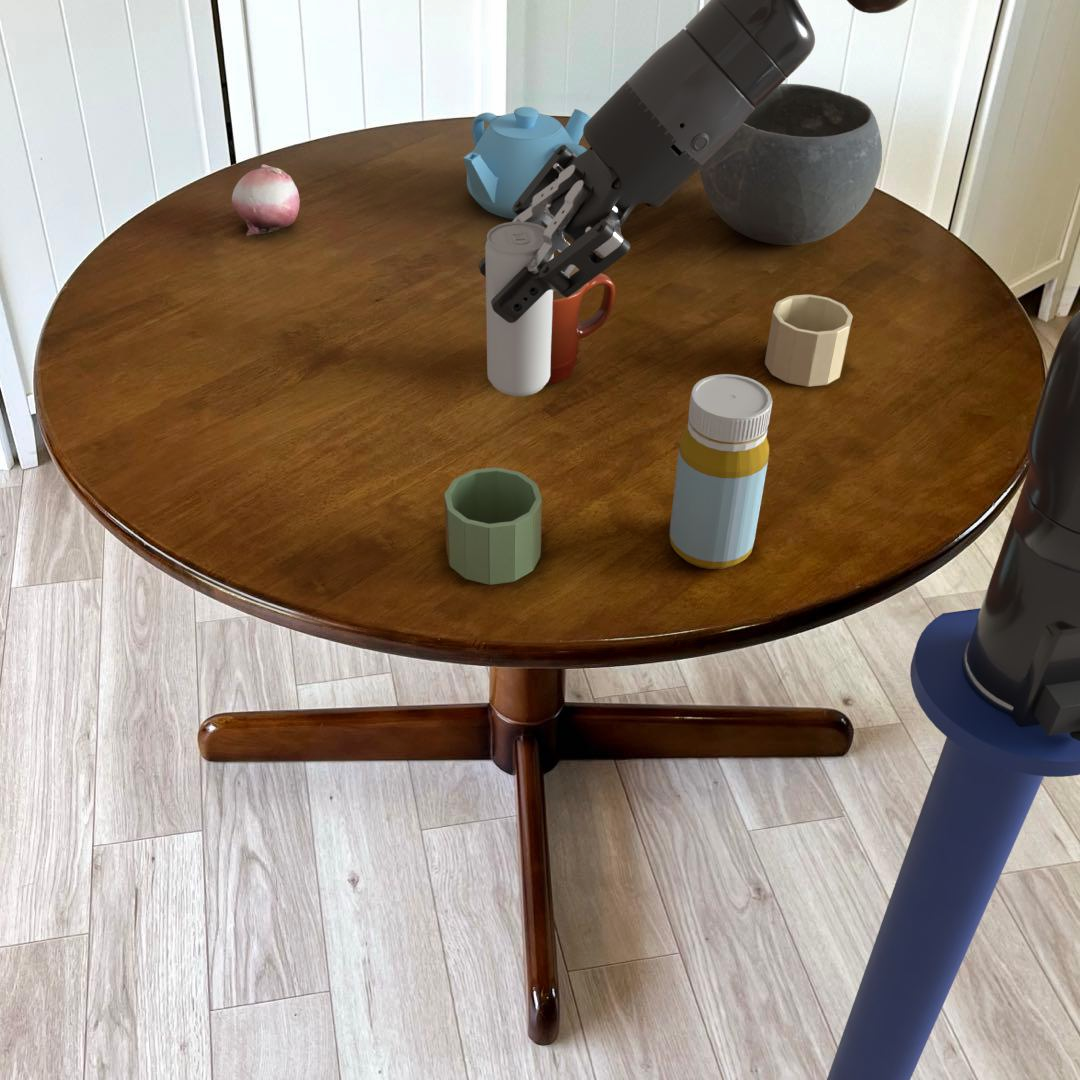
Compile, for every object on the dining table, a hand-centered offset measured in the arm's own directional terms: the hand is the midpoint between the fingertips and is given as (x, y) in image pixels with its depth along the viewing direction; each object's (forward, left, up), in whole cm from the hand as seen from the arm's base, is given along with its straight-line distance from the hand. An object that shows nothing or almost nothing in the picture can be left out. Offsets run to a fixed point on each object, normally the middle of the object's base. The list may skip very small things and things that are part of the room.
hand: (494, 294), depth 88 cm
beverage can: (0, -2, -8) cm, 8 cm away
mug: (+26, -11, -23) cm, 36 cm away
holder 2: (+22, -36, -23) cm, 48 cm away
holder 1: (-1, 0, -23) cm, 23 cm away
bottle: (-4, -18, -23) cm, 30 cm away
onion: (+62, +16, -23) cm, 68 cm away
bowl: (+51, -44, -23) cm, 71 cm away
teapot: (+65, -16, -23) cm, 70 cm away
